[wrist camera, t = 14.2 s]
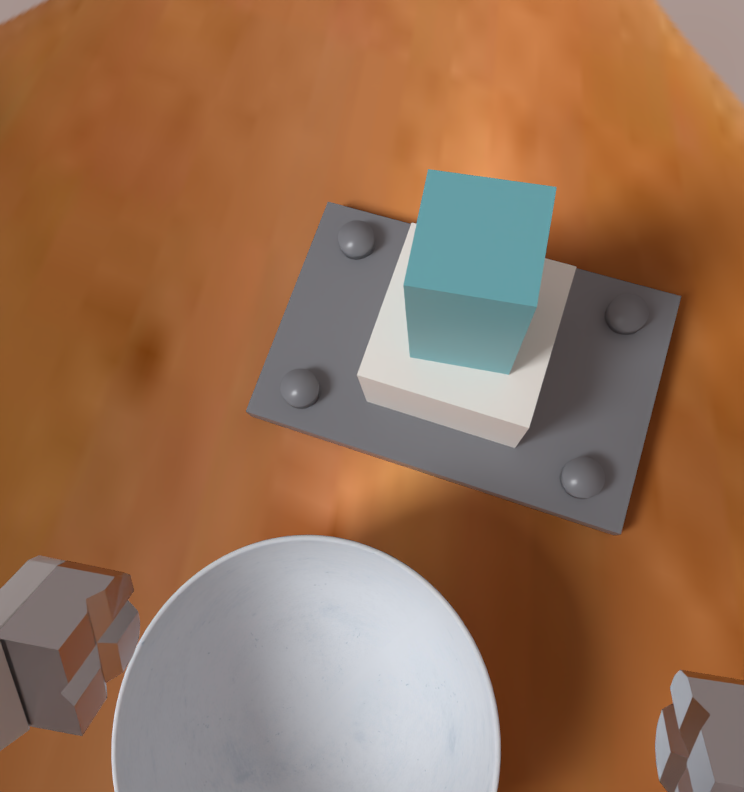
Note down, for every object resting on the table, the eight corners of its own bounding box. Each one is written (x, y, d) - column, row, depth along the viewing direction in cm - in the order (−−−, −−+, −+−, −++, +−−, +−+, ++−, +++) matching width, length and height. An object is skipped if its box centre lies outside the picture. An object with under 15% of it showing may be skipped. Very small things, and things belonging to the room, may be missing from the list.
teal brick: (508, 374, 30) (536, 307, 22) (410, 357, 30) (403, 285, 23) (524, 282, 31) (556, 187, 23) (428, 267, 31) (428, 169, 24)
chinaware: (149, 601, 35) (72, 610, 27) (418, 500, 35) (416, 482, 27) (230, 920, 31) (167, 1033, 23) (534, 805, 31) (567, 881, 23)
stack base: (614, 535, 34) (654, 528, 28) (251, 416, 37) (217, 386, 31) (673, 305, 36) (721, 253, 30) (330, 212, 39) (313, 149, 33)
